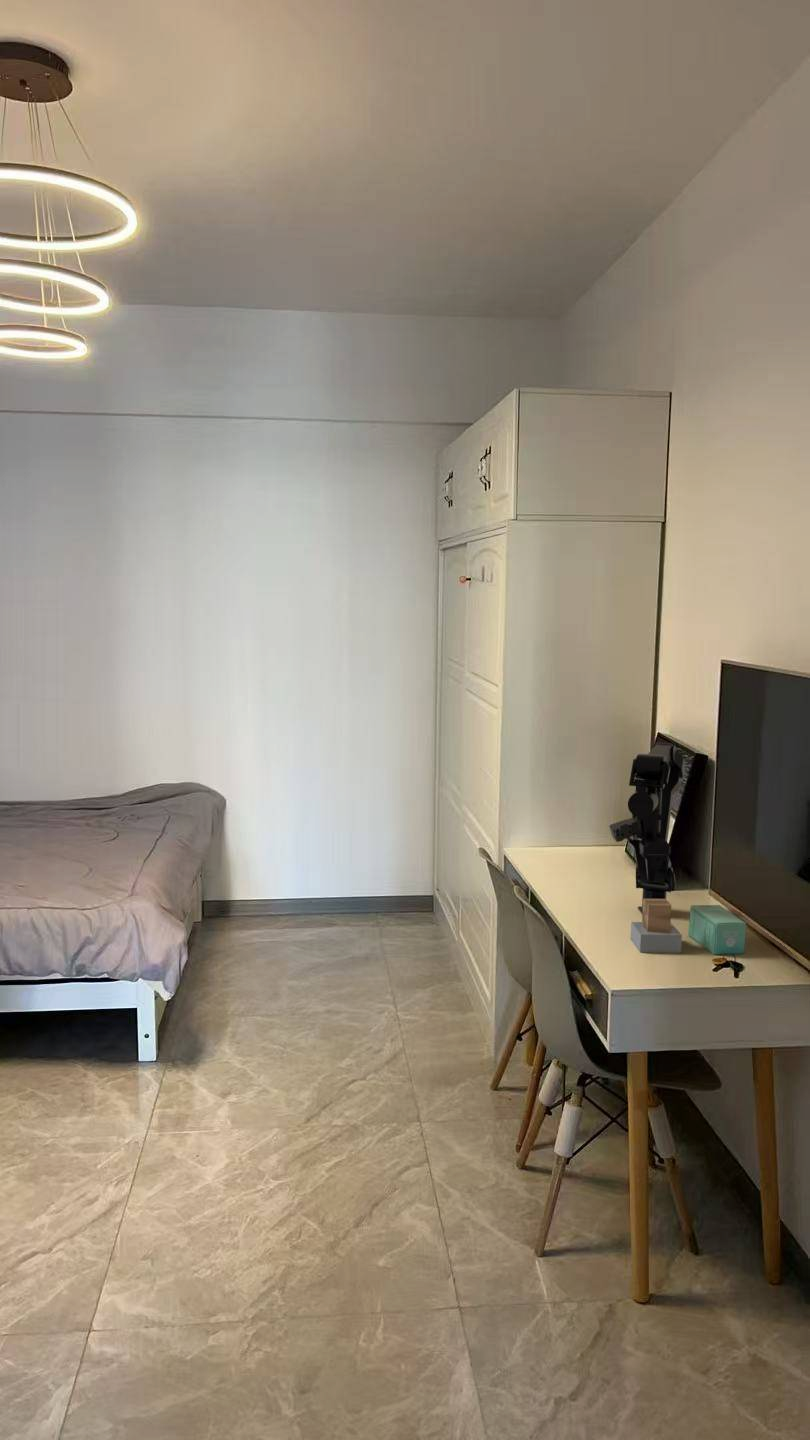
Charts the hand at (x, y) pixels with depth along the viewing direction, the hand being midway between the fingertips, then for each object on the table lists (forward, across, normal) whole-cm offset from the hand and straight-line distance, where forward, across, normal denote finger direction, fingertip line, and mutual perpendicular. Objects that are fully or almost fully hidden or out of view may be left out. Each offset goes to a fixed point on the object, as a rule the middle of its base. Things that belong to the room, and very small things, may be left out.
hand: (645, 875), depth 251 cm
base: (+13, +12, 0) cm, 17 cm away
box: (+13, +11, +14) cm, 22 cm away
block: (+9, +12, 0) cm, 15 cm away
